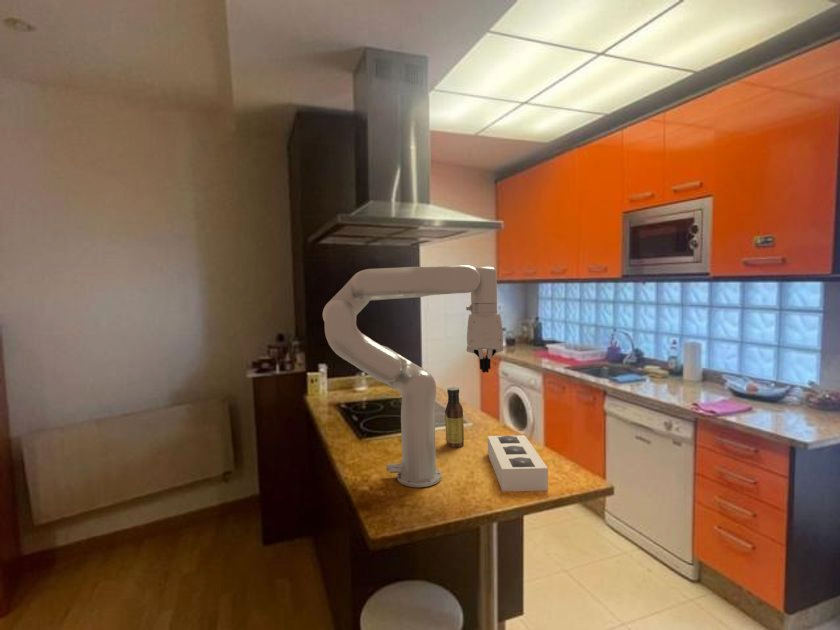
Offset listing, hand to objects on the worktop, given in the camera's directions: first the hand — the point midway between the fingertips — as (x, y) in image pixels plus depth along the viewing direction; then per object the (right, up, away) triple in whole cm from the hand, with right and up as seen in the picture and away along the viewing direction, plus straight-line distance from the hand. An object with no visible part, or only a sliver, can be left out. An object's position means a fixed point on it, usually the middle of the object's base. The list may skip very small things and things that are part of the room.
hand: (485, 371), depth 128 cm
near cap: (+9, -29, -10) cm, 31 cm away
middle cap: (+9, -28, -1) cm, 29 cm away
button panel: (+9, -29, -1) cm, 30 cm away
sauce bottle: (-7, -28, +22) cm, 36 cm away
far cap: (+9, -28, +8) cm, 30 cm away
